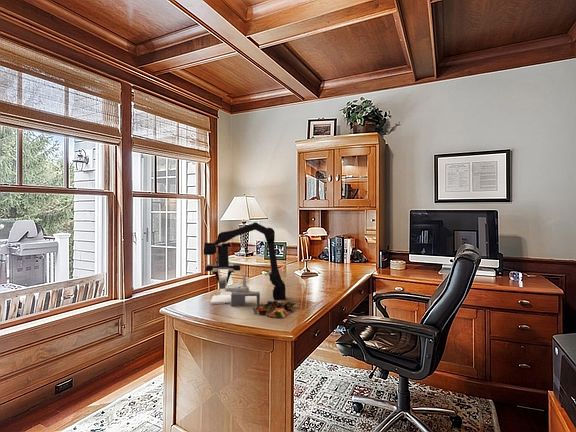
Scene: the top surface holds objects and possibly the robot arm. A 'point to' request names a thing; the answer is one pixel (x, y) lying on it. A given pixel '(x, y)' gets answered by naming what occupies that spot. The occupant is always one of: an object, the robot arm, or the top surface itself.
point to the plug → (222, 282)
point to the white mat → (221, 299)
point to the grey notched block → (243, 298)
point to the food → (275, 309)
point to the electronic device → (238, 287)
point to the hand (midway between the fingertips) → (223, 283)
